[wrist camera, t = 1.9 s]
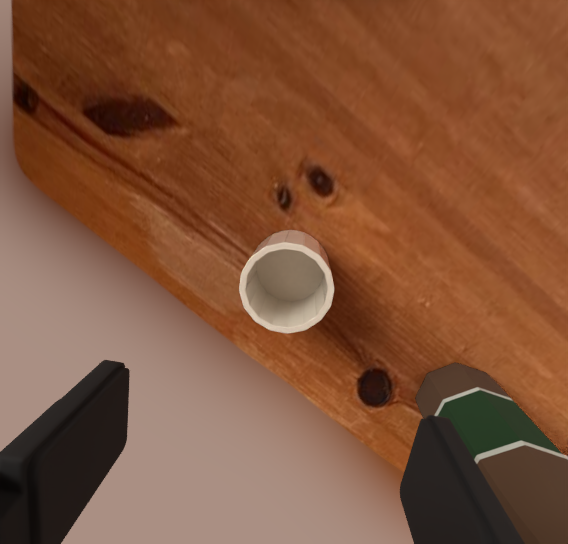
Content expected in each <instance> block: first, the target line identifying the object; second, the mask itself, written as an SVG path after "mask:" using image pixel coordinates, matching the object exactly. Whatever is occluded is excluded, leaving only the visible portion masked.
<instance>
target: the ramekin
mask: <svg viewBox="0 0 568 544" xmlns="http://www.w3.org/2000/svg"><path fill="white" fill-rule="evenodd" d="M334 290H335V289H334V283H333V278H332V273H331V269H330V265H329V261H328V257H327V254H326V252H325V250H324V249H323V247H322V246H321V245H320V243H319V242H318V241H317V240H316V239H314V238H313V237H312V236H310V235H308V234H306V233H304V232H300V231H295V230H285V231H280V232H277V233H275V234H272V235H271V236H269V237H268V238H266V239H265V240H264V241H263V242H261V243H260V245H259V246H258V248H257V249H256V250H255V252H254V253H253V255H252V256H251V257H250V259H249V261H248V262H247V264H246V265H245V267H244V269H243V270H242V273H241V278H240V286H239V292H240V296H241V299H242V303H243V306H244V308H245V309H246V311H247V312H248V313H249V315H250V316H251V317H252V318H253V320H254V321H255V322H257V323H258V324H260V325H262V326H264V327H265V328H267V329H269V330H271V331H276V332H282V333H288V334H289V333H294V332H299V331H305V330H307V329H308V328H310V327H312V326H313V325H315V324H316V323H318V322H319V321H320V320H322V318H323V317H324V315H325V314H326V313H327V311H328V310H329V308H330V307H331V304H332V299H333V295H334Z"/></svg>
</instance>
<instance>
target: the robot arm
mask: <svg viewBox="0 0 568 544" xmlns="http://www.w3.org/2000/svg"><path fill="white" fill-rule="evenodd" d="M128 397H129V369H128V368H125V365H124V363H121V362H115V361H109V360H104V361H102V362H101V363H100V364H99V365H98V366H97V367H96V368H95V369H94V370H92V372H90V373H89V374H88V375H87V376H86V377H85V378H83V379H82V380H81V381H80V382H79V383H78V384H77V385H76V386H75V387H74V388H72V389H71V390H70V391H69V392H68V393H67V394H66V395H65V396H64V397H63V398H62V399H60V400H58V401H57V402H55V403H54V404H53V405H52V406H51V407H50V408H49V409H48V410H46V411H45V412H44V413H43V414H42V415H41V416H40V417H39V418H38V419H37V420H35V421H34V422H33V423H32V424H31V425H30V426H29V427H28V428H27V429H25V430H24V431H23V432H22V433H21V434H20V435H19V436H18V437H16V438H15V439H14V440H13V441H12V442H11V443H10V444H9V445H8V446H6V448H4V449H3V450H2V451H1V452H0V544H61V542H62V541H63V539H64V538H65V536H66V535H67V533H68V532H69V530H70V529H71V527H72V526H73V524H74V523H75V521H76V520H77V518H78V517H79V515H80V514H81V512H82V511H83V509H84V508H85V506H86V505H87V503H88V502H89V500H90V499H91V497H92V496H93V494H94V493H95V491H96V490H97V488H98V487H99V485H100V484H101V482H102V481H103V479H104V478H105V476H106V475H107V473H108V472H109V470H110V469H111V467H112V466H113V464H114V463H115V461H116V460H117V458H118V457H119V455H120V454H121V452H122V451H123V449H124V447H125V444H126V440H127V423H128ZM400 498H401V501H402V505H403V508H404V511H405V515H406V518H407V521H408V525H409V528H410V531H411V535H412V538H413V541H414V544H525V543H524V541H523V540H522V538H521V536H520V535H519V533H518V531H517V530H516V528H515V526H514V525H513V523H512V521H511V520H510V518H509V516H508V515H507V513H506V512H505V510H504V508H503V507H502V505H501V503H500V502H499V500H498V498H497V497H496V495H495V493H494V492H493V490H492V488H491V487H490V485H489V483H488V482H487V480H486V478H485V477H484V475H483V473H482V472H481V470H480V469H479V467H478V465H477V464H476V462H475V460H474V459H473V457H472V455H471V454H470V452H469V450H468V449H467V447H466V445H465V444H464V442H463V440H462V439H461V437H460V435H459V434H458V432H457V430H456V429H455V427H454V426H453V424H452V422H451V421H450V419H449V418H446V417H440V416H434V415H428V416H427V417H426V419H421V421H420V424H419V427H418V430H417V433H416V437H415V440H414V443H413V446H412V450H411V453H410V456H409V459H408V463H407V466H406V469H405V472H404V476H403V479H402V482H401V486H400Z"/></svg>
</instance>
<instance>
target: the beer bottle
mask: <svg viewBox="0 0 568 544" xmlns="http://www.w3.org/2000/svg"><path fill="white" fill-rule="evenodd" d="M415 399H416V402H417V404H418V407H419V410H420V412H421V414H422V416H423V418H424V419H426V417H427V416H428V415H434V416H440V417H446V418H449V419H450V421H451V422H452V424H453V426H454V427H455V429H456V430H457V432H458V434H459V435H460V437H461V439H462V440H463V442H464V444H465V445H466V447H467V449H468V450H469V452H470V454H471V455H472V457H473V459H474V460H475V462H476V464H477V465H478V467H479V469H480V470H481V472H482V473H483V475H484V477H485V478H486V480H487V482H488V483H489V485H490V487H491V488H492V490H493V492H494V493H495V495H496V497H497V498H498V500H499V502H500V503H501V505H502V507H503V508H504V510H505V512H506V513H507V515H508V516H509V518H510V520H511V521H512V523H513V525H514V526H515V528H516V530H517V531H518V533H519V535H520V536H521V538H522V540H523V541H524V543H525V544H568V460H567V458H566V457H565V456H564V455H563V454H562V453H561V452H560V451H559V450H558V449H557V448H556V446H555V445H554V444H553V443H552V442H551V441H550V440H549V439H548V438H547V437H546V436H545V435H544V434H543V432H542V431H541V430H540V429H539V428H538V427H537V426H536V425H535V424H534V423H533V422H532V421H531V419H530V418H529V417H528V416H527V415H526V414H525V413H524V412H523V411H522V410H521V409H520V408H519V406H518V405H517V404H516V403H515V402H514V401H513V400H512V399H511V398H510V397H509V396H508V395H507V393H506V392H505V391H504V390H503V389H502V388H501V387H500V386H499V385H498V384H497V383H496V382H495V381H494V380H493V379H492V378H491V377H490V376H489V375H488V374H487V373H485V372H482V371H479V370H476V369H474V368H471V367H468V366H465V365H462V364H459V363H453V364H451V365H448V366H445V367H443V368H440V369H437V370H435V371H432V372H429V373H428V374H427V376H426V378H425V379H424V381H423V383H422V385H421V387H420V389H419V391H418V393H417V395H416V398H415Z"/></svg>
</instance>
